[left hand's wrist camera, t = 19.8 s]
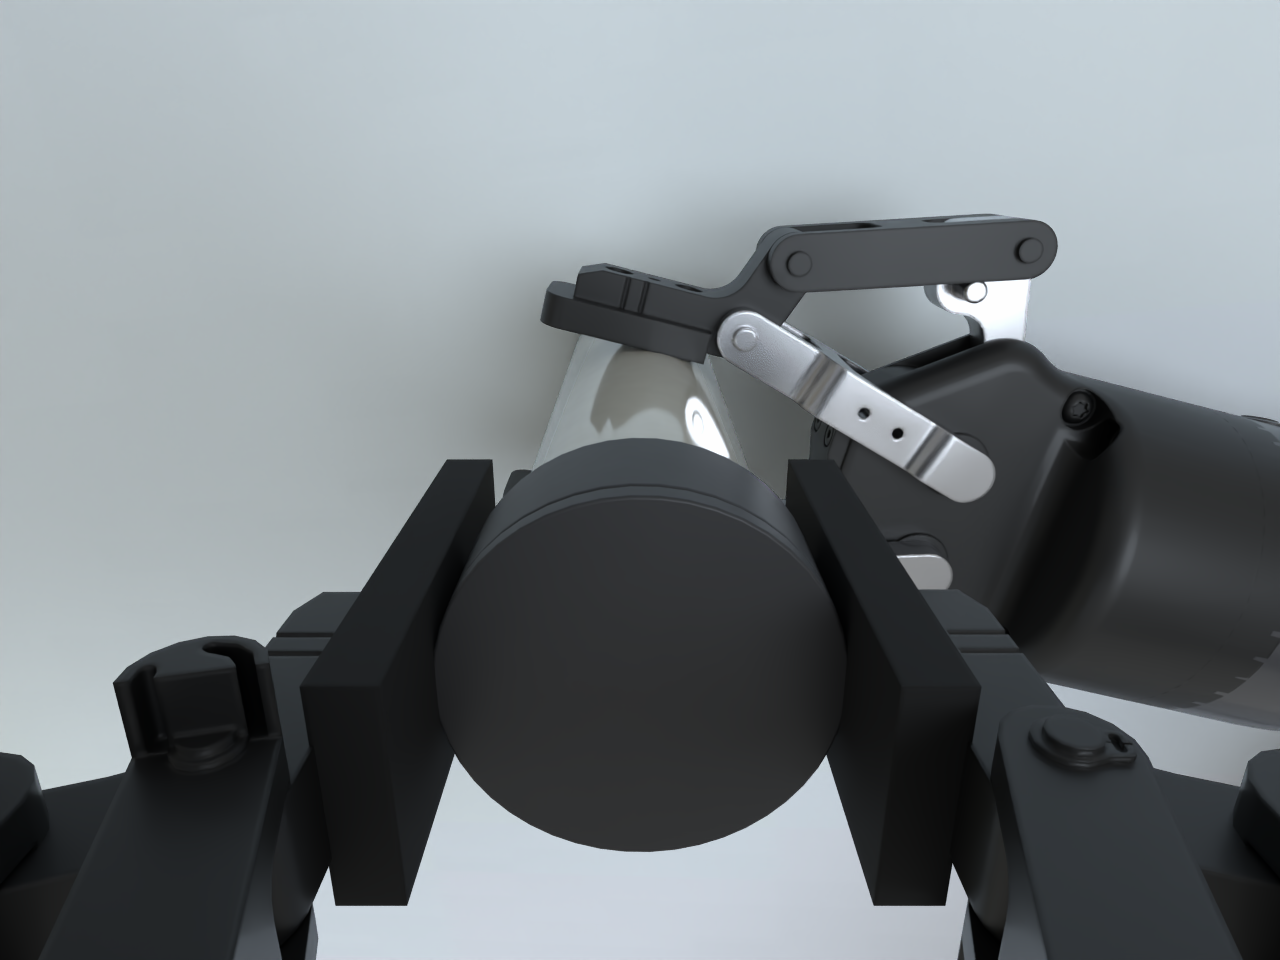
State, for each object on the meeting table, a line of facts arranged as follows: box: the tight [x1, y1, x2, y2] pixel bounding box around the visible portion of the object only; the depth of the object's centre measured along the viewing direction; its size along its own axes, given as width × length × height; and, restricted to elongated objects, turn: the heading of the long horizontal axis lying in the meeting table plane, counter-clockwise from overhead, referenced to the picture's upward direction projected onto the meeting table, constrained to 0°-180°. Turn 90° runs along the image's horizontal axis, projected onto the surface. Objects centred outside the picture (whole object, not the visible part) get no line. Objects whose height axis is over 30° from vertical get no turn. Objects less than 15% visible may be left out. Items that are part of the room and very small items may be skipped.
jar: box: [532, 334, 749, 471], centre depth 19 cm, size 4×4×16 cm
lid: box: [434, 438, 847, 852], centre depth 11 cm, size 5×5×2 cm
